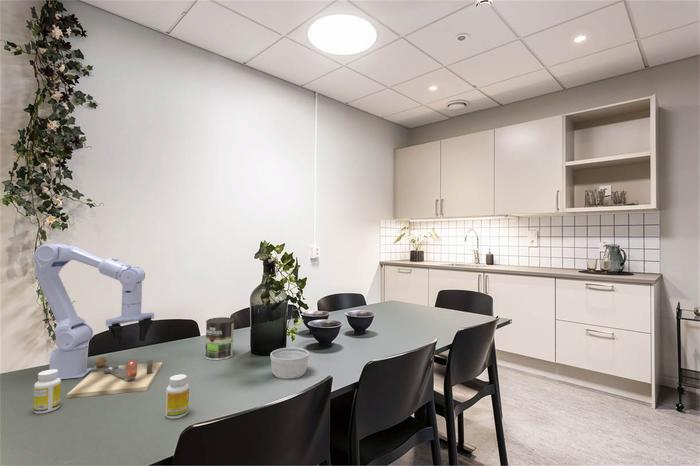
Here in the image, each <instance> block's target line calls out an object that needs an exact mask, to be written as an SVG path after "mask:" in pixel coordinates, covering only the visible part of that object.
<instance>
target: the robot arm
mask: <svg viewBox="0 0 700 466" xmlns="http://www.w3.org/2000/svg"><path fill="white" fill-rule="evenodd" d="M32 256H33V260H34V261H35V266H34V268H35V269H34V274H35V277H36V279H37V282H38V284H39V287H40V288H41V291H42V293H43V295H44V298H45V300H46V302H47V303H48V306H49V309H50V310H51V313H52V315H53V316H54V319H55V321H56V324H57V325H56V327H55V328H54V331H53V333H54V334H55V342H54V343H55V345H56V347H57V348H55V349H54V350H52V352H51V354H50V357H49V366H48V367H49V369H48V370H52V369H56V370H58V376H57V378H60V379H61V380H65V379H66V380H68V379H80V378H83V377H84V376H86V375H87V374H88V373H89V372H91V369H92V368H93V367H88V357H89V356H88V355H89V354H88V353H89V341H90V340H91V339H92V338H93V336H94V331H93V328H92V327H91V326H90V325H88V324H87V322H86V320H85V319H84V318H82V317H80V316H78V313H77V311H76V310H75V307H74V305H73V303H72V301H71V299H70V296H69V295H68V291H67V290H66V287H65V286H64V283H63V281H62V279H61V277H60V273H61V271H62V269H63V268H64V267H65V266H66V265H67V264H68V263H69V262H71V261H76V262H79V263H82V264H85V265H87V266H91V267H93V268H97V269H98V271H99V274H102V275H104V276H106V277H109V278H111V279H113V280H117V281H118V282H119V283H120V284H121V286H122V289H121V311H120V312H121V316H118V317H117V316H115V317H113V318H108V319H105V326H106V327H108V328H107V329H109V331H110V333H111V335H112V337H113V340H114V346H115V347H117V348H120V347H122V346H121V345H122V334H123V329H124V326H122V325H123V324H127V323H133V322H138V327H139V328H138V329H139V332H138V333H139V337H138V339H139V342H145V341H146V337H147V334H148V331H149V329H150V327H151V326H152V325H153V320H154V319H155V312H144V313H142V300H143V299H142V298H143V297H142V296H143V295H142V293H143V282H144V280H145V278H146V272H145V270H143V268H141V267H139V266H134V267H132V264H130V263H127V264H126V263H124V262H121V261H119V259H118V258H117V257H112V258H111V257H109V258H102V257H100V256H98V255H95V254H93V253H90V252H88V251H86V250H84V249H82V248H80V247H78V246H75V245H71V244H69V243H55V244H54V243H43V244H41V245H39V246H38V247H37V249H36V250H35V251H34V253H33V255H32Z"/></svg>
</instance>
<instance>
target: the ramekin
mask: <svg viewBox="0 0 700 466" xmlns="http://www.w3.org/2000/svg"><path fill="white" fill-rule="evenodd" d="M269 355H270V357H269V358H270V362H271V363H270V364H271V365H270V366H271V372H272V374H273V375H274V376H275V378H278V379H283V380H293V379H297V378H301V377H303V376H304V375H305V373H306V372H307V370H308V369H307V368H308V362H309V359H310V353H309V350H307V349H304V348H301V347H282V348H278V349H275V350H273V351H272V352H270V354H269Z"/></svg>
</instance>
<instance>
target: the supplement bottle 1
mask: <svg viewBox="0 0 700 466" xmlns="http://www.w3.org/2000/svg"><path fill="white" fill-rule="evenodd" d="M57 376H58V370H56V369H52V370H49V369H47V370H42V371H39V372H38V374H37V379H38V381H36V382H35V383H34V385H33V410H32V411H33V413H35V414H37V415H38V414H47V413H50V412H53V411H56V410H57V409H59V408H60V406H61V396H62V395H61V393H62V392H61V391H62V379H60V378H57Z"/></svg>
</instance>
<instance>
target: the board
mask: <svg viewBox="0 0 700 466" xmlns="http://www.w3.org/2000/svg"><path fill="white" fill-rule="evenodd" d="M107 362H108V361H107V358H106V357H104V356H100V357H97V359H95V362H94V364H95V366H94V367H91V368H92V369H91V370H90V373H89V374H88V375H87V376H86V377H85V378H84V379H82V380H81V381H80V382H79V383H78V384H76V386H74V387H73V388H72V389H71V390H70V391H68V393H67V394H66V399H77V398H85V397H96V396H105V395H116V394H124V393H125V394H126V393H136V392H145V391H146V392H147V391H148V389H149V388H150V386H151V385H152V383H153V382H154V379H155V378H156V377H157V374H158V373H159V372H160V370H161V369H162V367H163V361H159V362H154V361H153V359H150V360H147V361H146V363H137V376H136V378H135V379H132V380H129V381H126V380H124V379H122V378H119V377H117V376H115V375H113V374H110V373H104V367H105V366H108V365H111V364H107ZM119 368H121V369H123V370H126V368H127V364H125V365H124V364H122V365H121V364H120V365H119Z"/></svg>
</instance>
